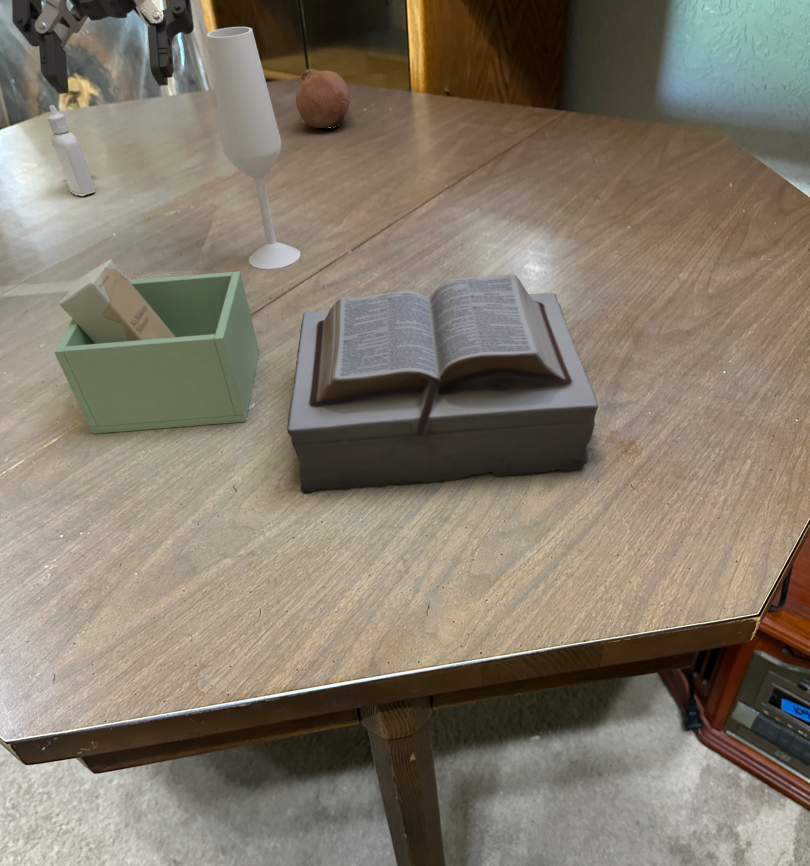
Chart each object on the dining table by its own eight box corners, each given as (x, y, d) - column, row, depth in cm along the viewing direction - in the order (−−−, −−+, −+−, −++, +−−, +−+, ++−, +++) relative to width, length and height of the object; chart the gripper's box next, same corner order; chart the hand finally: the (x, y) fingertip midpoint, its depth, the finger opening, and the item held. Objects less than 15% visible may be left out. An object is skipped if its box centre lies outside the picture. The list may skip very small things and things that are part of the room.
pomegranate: (308, 147, 131) (275, 91, 125) (344, 118, 133) (314, 62, 127) (331, 137, 123) (298, 77, 118) (370, 106, 125) (338, 46, 120)
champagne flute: (271, 273, 89) (223, 42, 72) (237, 260, 92) (184, 36, 75) (311, 253, 92) (274, 27, 75) (277, 241, 95) (235, 22, 78)
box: (178, 382, 68) (90, 283, 61) (144, 399, 70) (55, 305, 63) (192, 352, 72) (110, 256, 65) (160, 369, 73) (77, 277, 67)
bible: (589, 510, 56) (606, 406, 49) (259, 491, 60) (231, 392, 53) (585, 350, 72) (597, 254, 65) (324, 344, 76) (309, 252, 69)
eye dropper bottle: (66, 199, 111) (33, 113, 103) (71, 187, 115) (39, 102, 107) (95, 195, 112) (64, 109, 103) (99, 183, 116) (69, 98, 107)
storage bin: (92, 434, 68) (53, 351, 61) (123, 361, 76) (92, 283, 70) (246, 421, 67) (223, 337, 61) (259, 350, 76) (240, 270, 70)
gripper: (-17, -147, 56) (-1, 62, 56) (163, -163, 56) (178, 46, 56) (34, -67, 64) (48, 117, 64) (193, -81, 63) (207, 104, 64)
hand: (109, 84), depth 60 cm, fingers open, 8 cm apart
